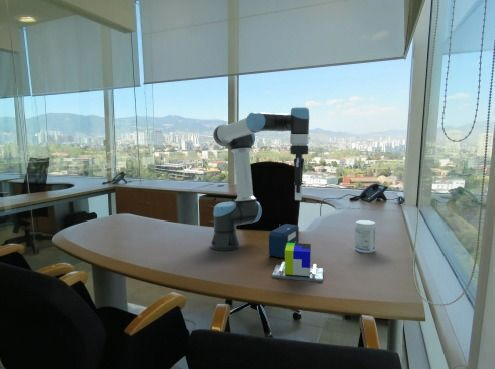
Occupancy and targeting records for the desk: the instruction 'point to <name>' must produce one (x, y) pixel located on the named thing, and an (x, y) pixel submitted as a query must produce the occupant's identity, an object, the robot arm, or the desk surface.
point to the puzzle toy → (297, 259)
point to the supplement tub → (365, 236)
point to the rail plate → (315, 275)
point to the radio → (282, 239)
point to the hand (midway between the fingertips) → (298, 199)
